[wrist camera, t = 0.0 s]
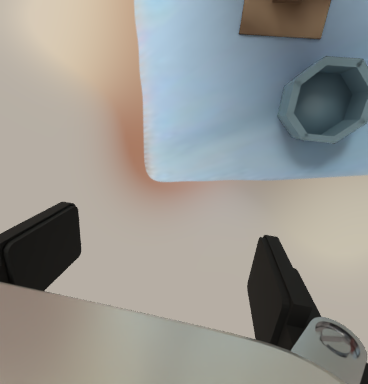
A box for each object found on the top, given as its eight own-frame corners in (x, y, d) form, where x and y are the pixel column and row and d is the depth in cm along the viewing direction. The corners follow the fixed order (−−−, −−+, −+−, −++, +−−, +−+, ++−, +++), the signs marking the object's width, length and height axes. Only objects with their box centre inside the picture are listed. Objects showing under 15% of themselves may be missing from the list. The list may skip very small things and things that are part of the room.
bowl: (289, 63, 33) (301, 54, 28) (365, 69, 32) (390, 60, 27) (272, 135, 37) (280, 137, 32) (339, 142, 36) (357, 146, 31)
